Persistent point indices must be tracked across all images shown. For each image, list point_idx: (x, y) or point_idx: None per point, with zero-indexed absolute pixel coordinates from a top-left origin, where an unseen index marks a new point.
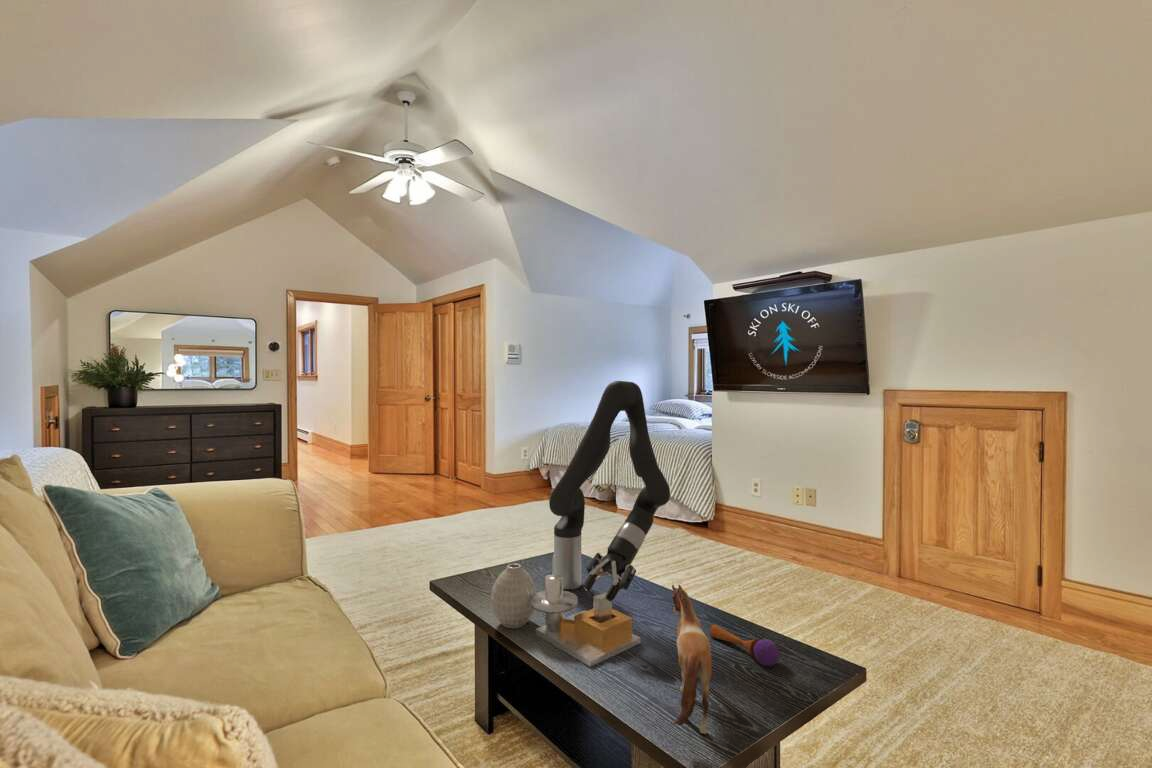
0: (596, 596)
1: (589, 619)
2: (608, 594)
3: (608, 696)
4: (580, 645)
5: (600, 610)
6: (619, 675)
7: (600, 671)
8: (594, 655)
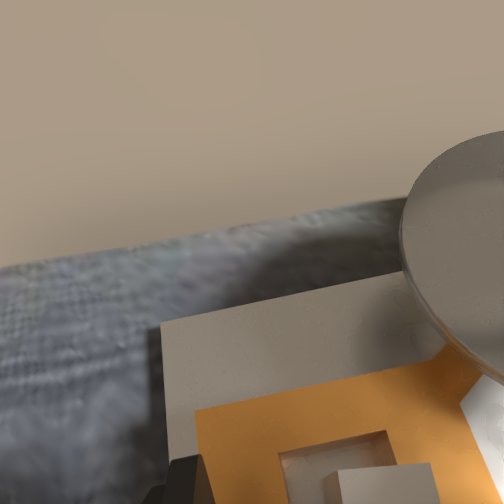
0: (411, 486)
1: (357, 419)
2: (170, 481)
3: (5, 299)
4: (284, 347)
5: (332, 490)
6: (55, 398)
7: (122, 350)
8: (181, 358)
